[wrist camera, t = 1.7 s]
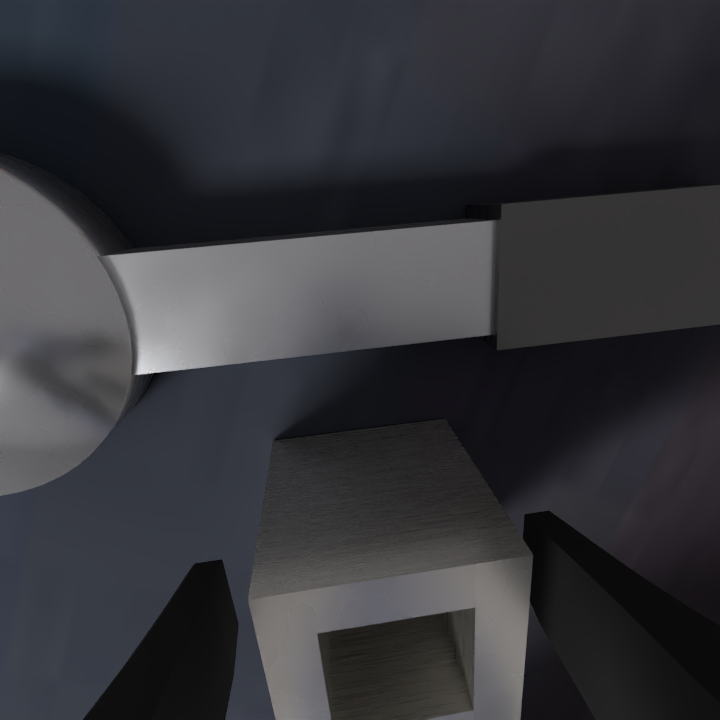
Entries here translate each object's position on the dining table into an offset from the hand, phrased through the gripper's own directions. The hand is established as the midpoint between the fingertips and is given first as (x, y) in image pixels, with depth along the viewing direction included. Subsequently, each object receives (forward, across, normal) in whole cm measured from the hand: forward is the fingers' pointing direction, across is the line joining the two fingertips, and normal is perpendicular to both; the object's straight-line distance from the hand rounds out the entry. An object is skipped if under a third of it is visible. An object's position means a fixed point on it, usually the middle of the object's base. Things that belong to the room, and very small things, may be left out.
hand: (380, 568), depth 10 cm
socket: (+3, 0, 0) cm, 3 cm away
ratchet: (+3, +1, -6) cm, 7 cm away
